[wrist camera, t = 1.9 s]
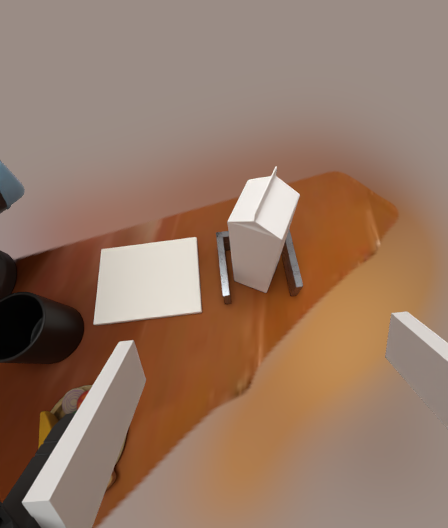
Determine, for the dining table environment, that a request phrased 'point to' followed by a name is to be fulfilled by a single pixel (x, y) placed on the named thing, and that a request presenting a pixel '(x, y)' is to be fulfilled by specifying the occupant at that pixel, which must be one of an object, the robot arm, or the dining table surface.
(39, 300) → the mug
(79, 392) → the toy sandwich meal
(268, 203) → the milk
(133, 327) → the dining table surface
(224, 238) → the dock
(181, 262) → the board
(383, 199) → the dining table surface
